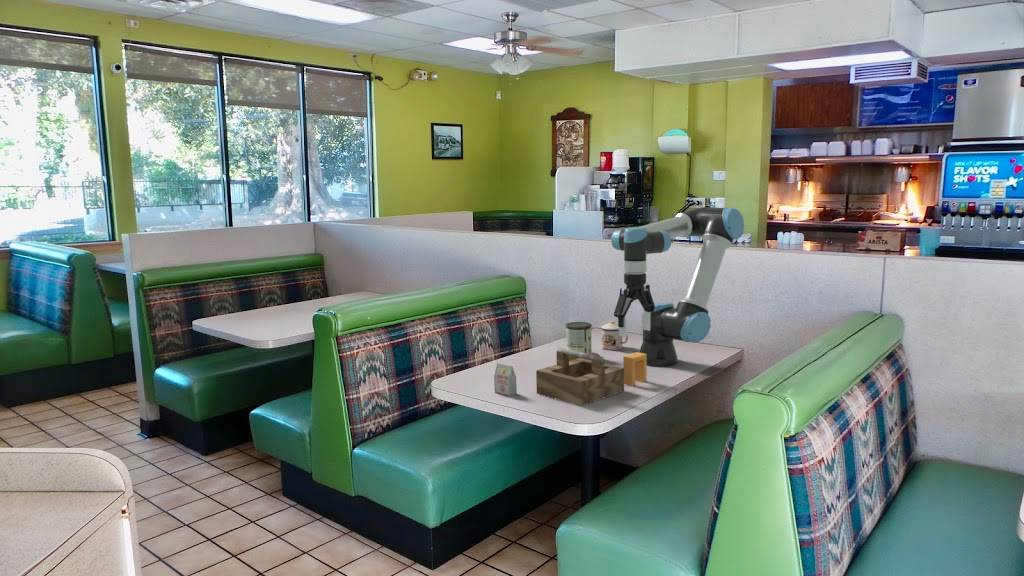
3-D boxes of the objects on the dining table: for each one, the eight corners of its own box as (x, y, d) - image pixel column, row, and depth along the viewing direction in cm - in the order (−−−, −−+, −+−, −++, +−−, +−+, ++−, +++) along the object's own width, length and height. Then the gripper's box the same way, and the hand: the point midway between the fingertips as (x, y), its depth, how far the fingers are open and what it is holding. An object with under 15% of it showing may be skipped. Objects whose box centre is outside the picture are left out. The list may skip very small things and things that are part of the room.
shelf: (579, 379, 253) (579, 341, 251) (624, 390, 239) (624, 350, 237) (536, 393, 239) (535, 353, 236) (581, 406, 224) (580, 363, 222)
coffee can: (566, 355, 288) (565, 321, 286) (591, 355, 287) (591, 321, 285) (565, 361, 278) (565, 327, 276) (592, 361, 277) (591, 327, 275)
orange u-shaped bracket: (637, 379, 252) (637, 352, 250) (646, 381, 249) (646, 354, 247) (623, 384, 246) (623, 356, 245) (632, 386, 244) (632, 358, 242)
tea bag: (501, 390, 243) (501, 362, 242) (516, 393, 239) (515, 365, 237) (494, 392, 241) (493, 364, 239) (509, 396, 236) (508, 367, 235)
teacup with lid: (597, 348, 298) (597, 321, 296) (607, 344, 305) (607, 318, 303) (622, 352, 291) (622, 324, 289) (632, 347, 298) (632, 320, 296)
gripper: (647, 268, 253) (647, 326, 256) (603, 275, 236) (603, 337, 239) (665, 269, 247) (664, 328, 250) (621, 277, 231) (620, 340, 234)
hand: (634, 333), depth 245 cm, fingers open, 13 cm apart
